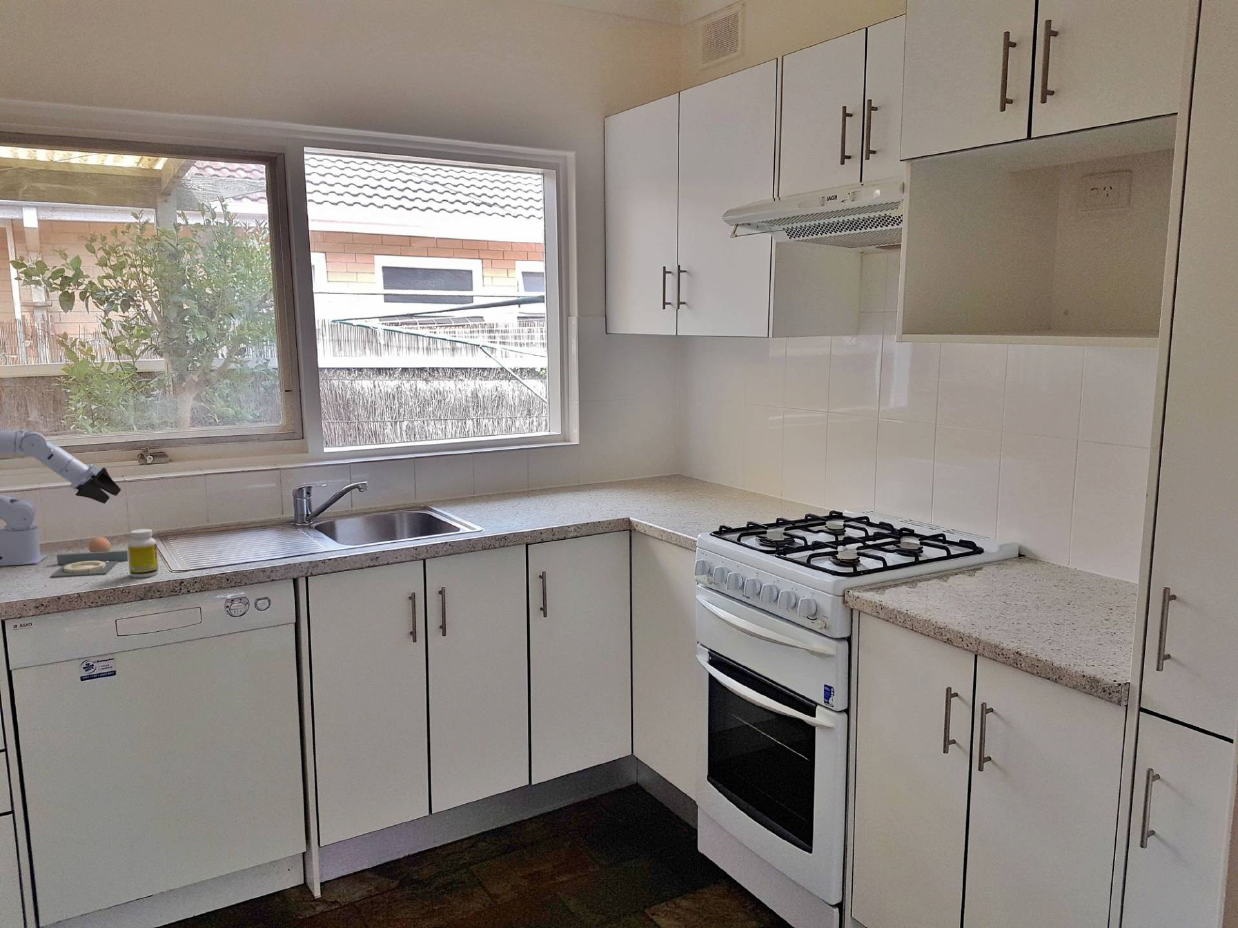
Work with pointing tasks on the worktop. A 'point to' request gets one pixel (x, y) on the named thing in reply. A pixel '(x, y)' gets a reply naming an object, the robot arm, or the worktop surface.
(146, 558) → the pill bottle
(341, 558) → the worktop surface
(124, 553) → the acrylic wall
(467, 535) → the worktop surface
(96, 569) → the slate mat
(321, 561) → the worktop surface
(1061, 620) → the worktop surface
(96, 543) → the ball
